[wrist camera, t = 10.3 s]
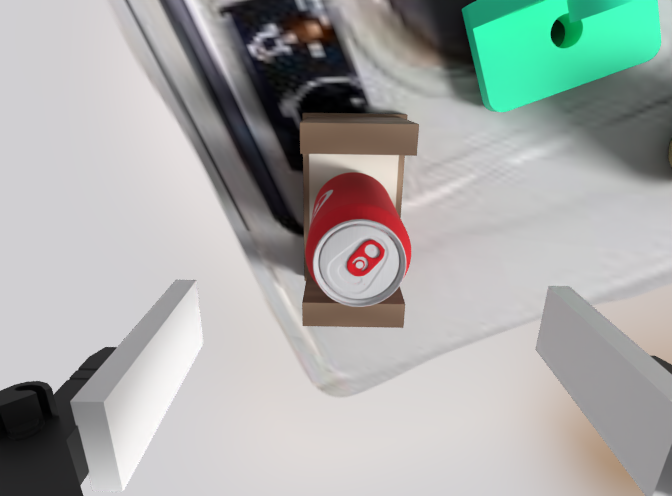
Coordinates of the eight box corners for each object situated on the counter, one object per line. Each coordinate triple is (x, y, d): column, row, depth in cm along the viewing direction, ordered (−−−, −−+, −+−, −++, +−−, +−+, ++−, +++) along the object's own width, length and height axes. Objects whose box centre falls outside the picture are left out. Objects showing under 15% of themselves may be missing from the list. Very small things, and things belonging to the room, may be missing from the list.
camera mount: (481, 114, 34) (538, 123, 24) (457, 12, 31) (510, -26, 21) (637, 59, 32) (766, 43, 22) (625, -54, 30) (763, -126, 20)
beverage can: (298, 212, 35) (279, 270, 24) (348, 153, 33) (353, 186, 22) (356, 258, 36) (364, 334, 25) (406, 204, 34) (439, 259, 23)
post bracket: (303, 112, 33) (291, 118, 25) (405, 114, 33) (427, 120, 25) (305, 276, 38) (295, 328, 30) (394, 277, 38) (410, 330, 30)
